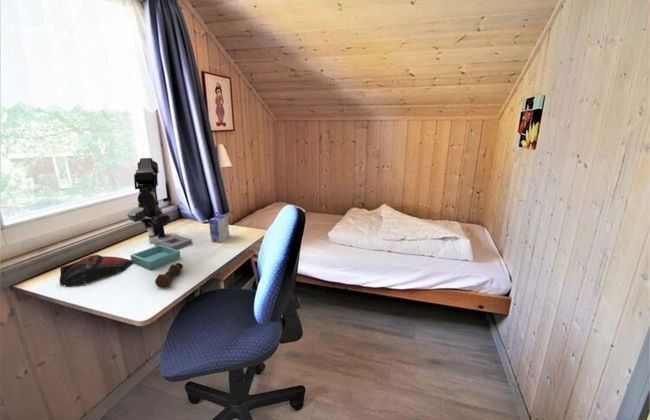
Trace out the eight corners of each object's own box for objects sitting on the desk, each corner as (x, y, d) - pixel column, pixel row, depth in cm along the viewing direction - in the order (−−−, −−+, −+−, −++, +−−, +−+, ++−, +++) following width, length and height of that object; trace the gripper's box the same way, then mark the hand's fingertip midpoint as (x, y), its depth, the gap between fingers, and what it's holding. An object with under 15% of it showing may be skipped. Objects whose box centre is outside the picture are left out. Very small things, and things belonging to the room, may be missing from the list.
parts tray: (131, 262, 137) (130, 254, 136) (161, 251, 149) (160, 244, 148) (150, 270, 131) (149, 262, 130) (180, 258, 142) (179, 251, 141)
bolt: (182, 273, 132) (165, 291, 118) (171, 268, 132) (152, 285, 117) (188, 262, 131) (171, 279, 116) (177, 257, 130) (158, 272, 116)
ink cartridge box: (220, 235, 171) (218, 210, 167) (229, 236, 170) (228, 210, 166) (210, 242, 161) (208, 215, 157) (219, 243, 160) (217, 216, 156)
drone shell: (52, 289, 116) (47, 269, 113) (79, 265, 134) (75, 248, 132) (117, 283, 120) (113, 264, 118) (134, 261, 139) (131, 244, 136)
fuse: (147, 242, 137) (145, 227, 135) (155, 240, 140) (153, 225, 138) (152, 244, 135) (150, 229, 133) (161, 241, 138) (159, 226, 136)
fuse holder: (155, 246, 154) (154, 242, 154) (176, 238, 164) (176, 235, 164) (170, 251, 149) (170, 247, 148) (192, 243, 159) (191, 239, 158)
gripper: (116, 201, 130) (121, 236, 134) (142, 207, 121) (148, 245, 125) (142, 195, 139) (147, 229, 144) (169, 201, 130) (173, 237, 135)
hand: (153, 235), depth 137 cm, fingers closed on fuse, 4 cm apart
